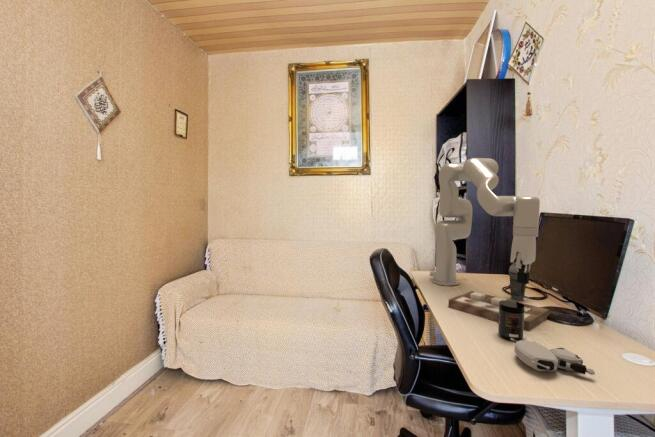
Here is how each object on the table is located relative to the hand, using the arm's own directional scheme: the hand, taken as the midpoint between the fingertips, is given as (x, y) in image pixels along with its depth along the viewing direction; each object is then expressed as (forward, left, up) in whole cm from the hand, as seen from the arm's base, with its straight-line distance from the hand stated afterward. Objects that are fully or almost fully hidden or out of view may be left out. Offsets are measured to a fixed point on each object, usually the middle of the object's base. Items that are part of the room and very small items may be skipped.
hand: (522, 282), depth 109 cm
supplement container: (+4, -20, -13) cm, 24 cm away
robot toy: (+17, -30, -13) cm, 37 cm away
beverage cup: (-9, +20, -13) cm, 25 cm away
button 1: (-16, 0, -11) cm, 19 cm away
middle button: (-8, 0, -11) cm, 13 cm away
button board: (-8, -2, -13) cm, 15 cm away
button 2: (0, 0, -12) cm, 12 cm away
